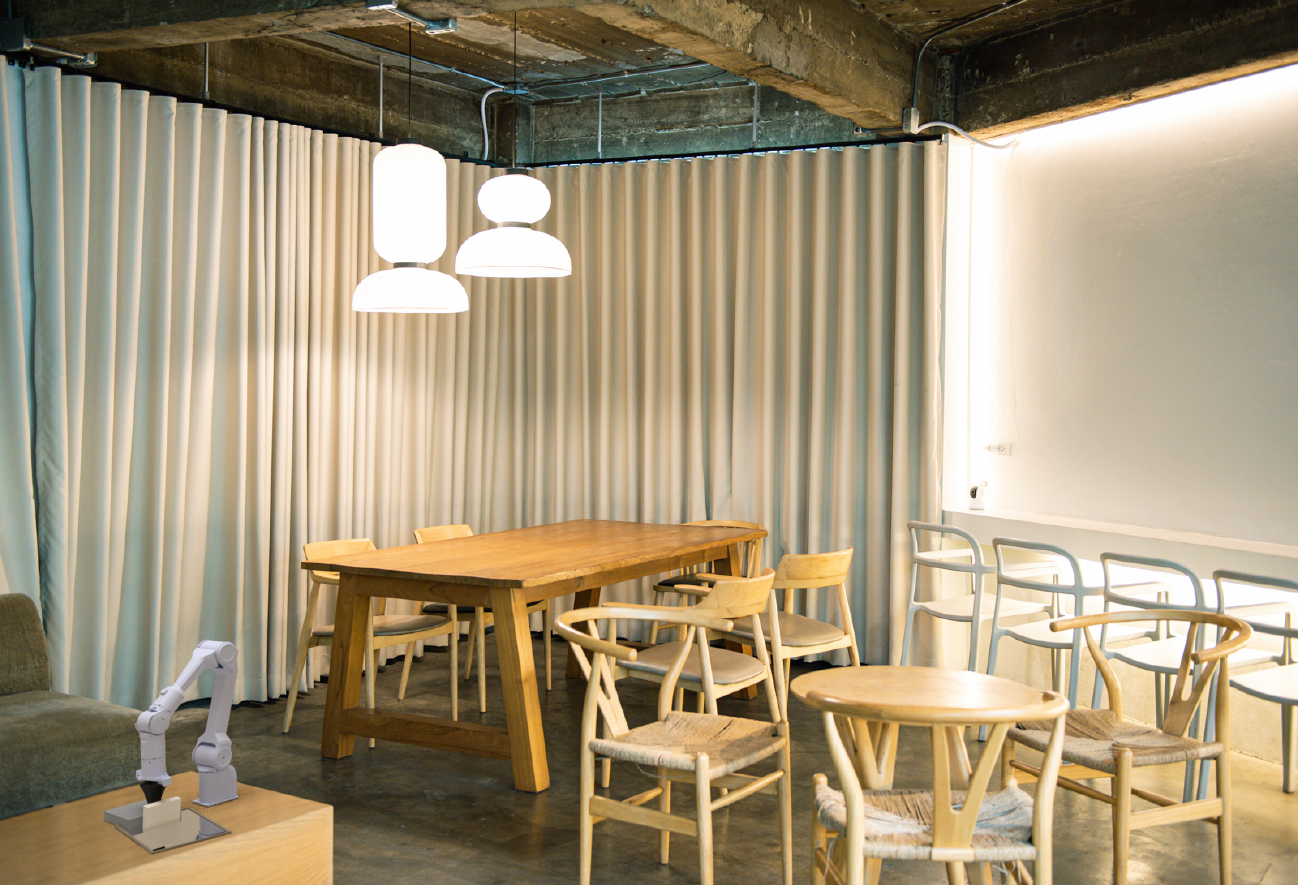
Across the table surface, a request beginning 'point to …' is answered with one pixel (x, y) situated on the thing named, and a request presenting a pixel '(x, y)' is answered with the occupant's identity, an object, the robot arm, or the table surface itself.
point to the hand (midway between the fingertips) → (154, 809)
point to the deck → (127, 815)
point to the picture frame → (175, 832)
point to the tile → (161, 812)
